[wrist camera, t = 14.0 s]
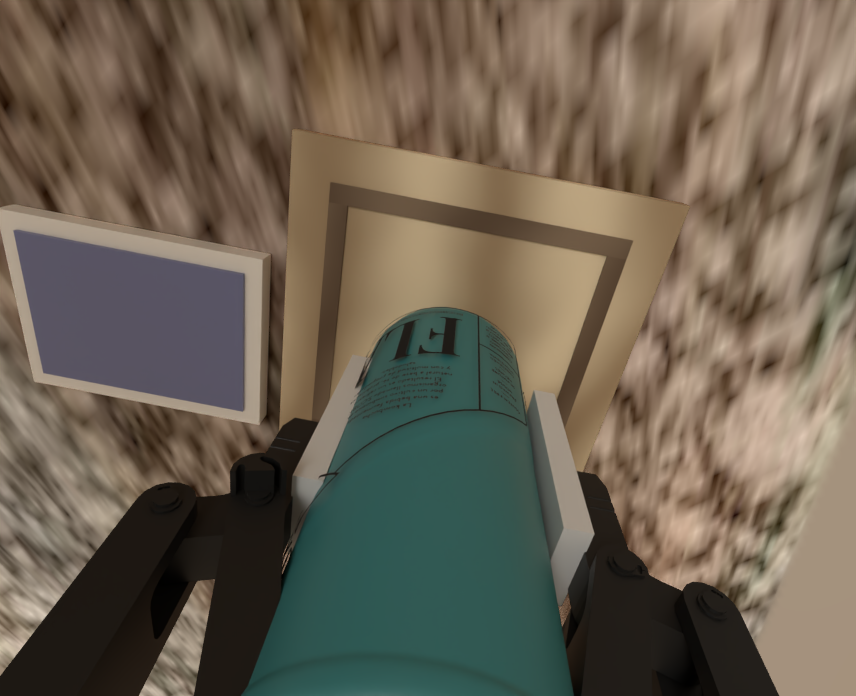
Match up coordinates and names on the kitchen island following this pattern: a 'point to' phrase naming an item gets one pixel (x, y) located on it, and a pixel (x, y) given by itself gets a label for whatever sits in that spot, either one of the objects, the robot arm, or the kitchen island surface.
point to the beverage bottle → (424, 535)
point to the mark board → (466, 269)
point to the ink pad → (141, 313)
